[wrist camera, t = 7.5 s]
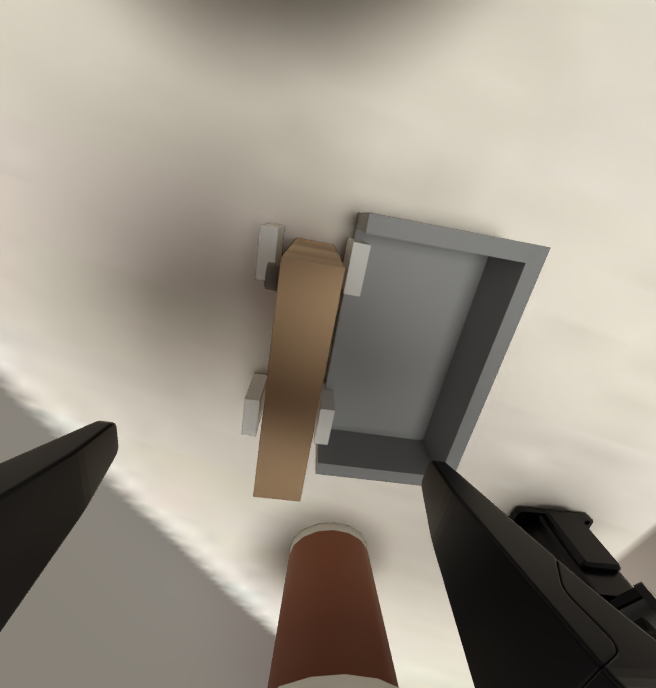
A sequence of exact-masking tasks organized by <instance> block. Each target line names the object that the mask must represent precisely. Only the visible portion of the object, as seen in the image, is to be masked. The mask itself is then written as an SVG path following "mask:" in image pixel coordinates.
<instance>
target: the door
mask: <svg viewBox="0 0 656 688" xmlns="http://www.w3.org/2000/svg"><path fill="white" fill-rule="evenodd" d="M344 272H345V267H344V265H343V263H342V261H341V259H340V257H339V255H338V253H337V251H336V249H335V247H334V245H333V244H328V243H322V242H317V241H311V240H306V239H300V238H296V240H295V241H294V242H293V243H292V245H291V246H290V247H289V248H288V249H287V251H286V252H285V253H284V254H283V256H282V257H281V263H280V264H279V263H273V262H268V263H267V267H266V272H265V282H264V288H265V289H267V290H273V291H277V297H276V305H275V314H274V323H273V331H272V340H271V348H270V357H269V365H268V374H267V382H266V391H265V400H264V408H263V417H262V425H261V434H260V442H259V451H258V459H257V468H256V476H255V485H254V494H253V497H262V498H272V499H281V500H291V501H300V499H301V494H302V489H303V483H304V478H305V473H306V468H307V463H308V458H309V452H310V447H311V442H312V437H313V432H314V427H315V421H316V416H317V411H318V406H319V401H320V396H321V390H322V385H323V380H324V375H325V370H326V365H327V359H328V354H329V349H330V344H331V339H332V334H333V328H334V323H335V318H336V313H337V308H338V303H339V297H340V292H341V287H342V282H343V277H344Z"/></svg>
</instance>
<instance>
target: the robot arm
mask: <svg viewBox="0 0 656 688" xmlns="http://www.w3.org/2000/svg"><path fill="white" fill-rule="evenodd" d="M117 451H118V437H117V427H116V425H115V423H113V422H106V421H97V422H94V423H92V424H90V425H87V426H85V427H83V428H80V429H78V430H76V431H73V432H71V433H69V434H67V435H64V436H62V437H60V438H57V439H55V440H53V441H51V442H48V443H46V444H44V445H41V446H39V447H37V448H34V449H32V450H30V451H28V452H25V453H23V454H21V455H18V456H16V457H14V458H11V459H9V460H7V461H5V462H2V463H0V632H1V630H2V629H3V627H4V626H5V624H6V623H7V622H8V620H9V619H10V617H11V616H12V614H13V613H14V612H15V610H16V609H17V607H18V606H19V604H20V603H21V601H22V600H23V599H24V597H25V596H26V594H27V593H28V591H29V590H30V589H31V587H32V586H33V584H34V583H35V581H36V580H37V578H38V577H39V576H40V574H41V573H42V571H43V570H44V568H45V567H46V566H47V564H48V563H49V561H50V560H51V558H52V557H53V555H54V554H55V553H56V551H57V550H58V548H59V547H60V545H61V544H62V543H63V541H64V540H65V538H66V537H67V535H68V534H69V532H70V531H71V530H72V528H73V527H74V525H75V524H76V522H77V521H78V520H79V518H80V516H81V515H82V514H83V512H84V511H85V509H86V508H87V506H88V504H89V503H90V501H91V499H92V497H93V496H94V494H95V492H96V490H97V488H98V486H99V485H100V483H101V481H102V479H103V478H104V476H105V474H106V472H107V471H108V469H109V467H110V465H111V463H112V462H113V460H114V458H115V456H116V454H117ZM422 492H423V497H424V503H425V508H426V513H427V519H428V524H429V529H430V534H431V539H432V543H433V546H434V550H435V554H436V557H437V560H438V564H439V567H440V571H441V574H442V577H443V581H444V584H445V588H446V591H447V594H448V598H449V601H450V605H451V608H452V611H453V615H454V618H455V622H456V625H457V628H458V632H459V635H460V639H461V642H462V645H463V649H464V652H465V656H466V659H467V663H468V666H469V669H470V673H471V676H472V680H473V683H474V686H475V688H656V596H655V595H654V594H653V593H652V592H651V591H650V590H649V589H648V588H647V587H646V586H645V585H644V584H643V583H642V582H639V583H637V584H636V585H634V588H633V587H632V586H631V585H630V583H629V582H628V581H627V580H626V579H625V578H624V576H623V575H622V574H621V573H620V572H619V571H620V570H621V567H620V565H619V563H618V562H617V561H616V560H615V559H614V558H613V556H612V555H611V554H610V553H609V552H608V551H607V549H606V548H605V547H604V546H603V545H602V544H601V542H600V541H599V540H598V539H597V538H596V537H595V535H594V534H593V533H592V532H591V531H590V530H589V528H590V526H591V525H592V523H593V520H592V519H591V517H590V516H589V515H587V514H581V513H572V512H563V511H554V510H544V509H535V508H526V507H519V508H517V509H515V510H514V512H513V514H512V516H511V518H509V517H508V516H507V515H506V514H505V513H503V512H502V511H501V510H500V509H499V508H498V507H496V506H495V505H494V504H493V503H492V502H491V501H490V500H488V499H487V498H486V497H485V496H484V495H483V494H482V493H480V492H479V491H478V490H477V489H476V488H475V487H473V486H472V485H471V484H470V483H469V482H468V481H467V480H465V479H464V478H463V477H462V476H461V475H460V474H458V473H457V472H456V471H455V470H454V469H453V468H452V467H450V466H449V465H448V464H447V463H446V462H444V461H438V460H431V461H430V462H429V463H428V466H427V469H426V471H425V474H424V477H423V479H422Z"/></svg>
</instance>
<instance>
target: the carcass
mask: <svg viewBox="0 0 656 688" xmlns="http://www.w3.org/2000/svg"><path fill="white" fill-rule="evenodd" d="M284 230H285V226H284V225H278V224H273V223H267V224H263V225H260V233H259V244H258V255H257V266H256V278H255V279H258V280H264V281H265V272H266V267H267V263H268V262H273V263H279V264H280V263H281V255H282V247H283V238H284ZM549 250H550V247H545V246H540V245H535V244H530V243H524V242H519V241H514V240H509V239H504V238H498V237H493V236H488V235H483V234H478V233H473V232H467V231H462V230H457V229H452V228H447V227H441V226H436V225H431V224H426V223H421V222H416V221H410V220H405V219H400V218H395V217H390V216H384V215H379V214H374V213H358V218H357V223H356V228H355V233H354V238H349V237H348V240H347V245H346V250H345V256H344V261H343V265H344V267H345V272H344V277H343V282H342V290H343V294H342V299H341V304H340V309H339V314H338V319H337V325H336V330H335V335H334V340H333V345H332V350H331V355H330V360H329V365H328V370H327V376H326V381H325V383H323V385H322V390H321V396H320V401H319V406H318V411H317V416H316V421H315V427H314V443H316V474H322V475H331V476H340V477H349V478H358V479H367V480H376V481H385V482H394V483H403V484H411V485H420V486H422V479H423V477H424V474H425V471H426V469H427V466H428V463H429V462H430V461H431V460H438V461H444V462H446V463H447V464H448V465H449V466H450V467H452V468H453V469H454V470H455V471H456V469H457V467H458V465H459V462H460V460H461V458H462V455H463V453H464V451H465V448H466V446H467V443H468V441H469V439H470V436H471V434H472V432H473V429H474V427H475V425H476V422H477V420H478V418H479V415H480V413H481V410H482V408H483V406H484V403H485V401H486V399H487V396H488V394H489V392H490V389H491V387H492V385H493V382H494V380H495V377H496V375H497V373H498V370H499V368H500V366H501V363H502V361H503V359H504V356H505V354H506V352H507V349H508V347H509V344H510V342H511V340H512V337H513V335H514V333H515V330H516V328H517V326H518V323H519V321H520V319H521V316H522V314H523V311H524V309H525V307H526V304H527V302H528V300H529V297H530V295H531V293H532V290H533V288H534V286H535V283H536V281H537V278H538V276H539V274H540V271H541V269H542V267H543V264H544V262H545V260H546V257H547V255H548V253H549ZM266 382H267V375H265V374H257V373H255V374H254V376H253V379H252V382H251V384H250V387H249V389H248V392H247V394H246V397H245V401H244V412H243V424H242V435H250V436H256V433H257V429H258V426H259V422H260V419H261V415H262V411H263V408H264V400H265V391H266Z"/></svg>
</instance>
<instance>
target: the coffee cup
mask: <svg viewBox="0 0 656 688" xmlns="http://www.w3.org/2000/svg"><path fill="white" fill-rule="evenodd" d="M268 688H399V687H398V683H397V678H396V674H395V669H394V665H393V661H392V656H391V652H390V648H389V643H388V639H387V635H386V630H385V626H384V621H383V617H382V613H381V608H380V604H379V600H378V595H377V591H376V586H375V582H374V578H373V573H372V569H371V565H370V560H369V556H368V552H367V546H366V541H365V540H364V538H363V537H362V535H361V534H360V532H358V531H356V530H354V529H353V528H351V527H349V526H347V525H342V524H337V523H323V524H316V525H314V526H311V527H308V528H306V529H304V530H302V531H301V532H300V533H299V534H298V535H297V536H296V537H294V539H293V542H292V544H291V547H290V554H289V561H288V567H287V573H286V579H285V585H284V591H283V597H282V603H281V609H280V615H279V621H278V627H277V634H276V640H275V646H274V652H273V658H272V664H271V670H270V676H269V682H268Z"/></svg>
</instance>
